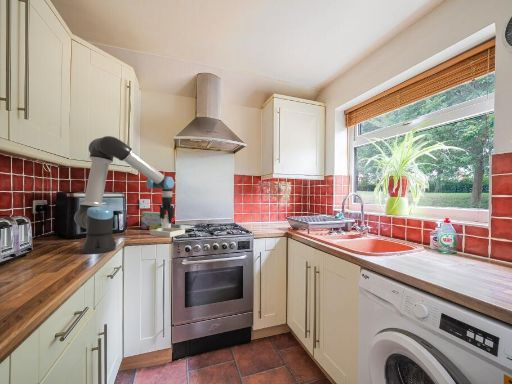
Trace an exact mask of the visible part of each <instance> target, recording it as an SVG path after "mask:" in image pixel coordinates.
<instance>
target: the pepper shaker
mask: <svg viewBox="0 0 512 384" xmlns="http://www.w3.org/2000/svg"><path fill="white" fill-rule="evenodd" d="M164 218H165V219H164V220H163V228H167V225H168V214H166V215H164Z"/></svg>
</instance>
